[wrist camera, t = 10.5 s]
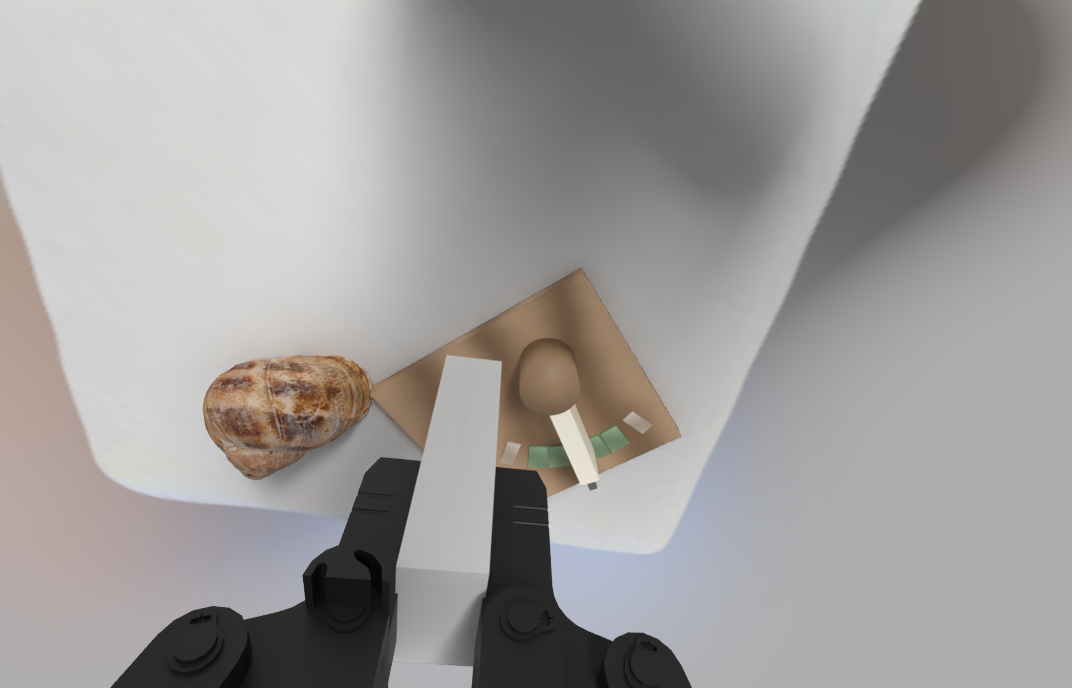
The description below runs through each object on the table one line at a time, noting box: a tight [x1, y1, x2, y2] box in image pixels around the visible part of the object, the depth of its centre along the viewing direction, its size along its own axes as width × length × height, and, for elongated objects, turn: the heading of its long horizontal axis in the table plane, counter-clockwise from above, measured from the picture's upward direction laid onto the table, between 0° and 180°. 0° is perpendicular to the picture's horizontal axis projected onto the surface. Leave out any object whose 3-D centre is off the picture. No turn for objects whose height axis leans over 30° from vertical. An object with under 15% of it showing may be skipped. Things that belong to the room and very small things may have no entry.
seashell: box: [203, 355, 372, 480], centre depth 41 cm, size 10×9×10 cm
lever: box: [520, 338, 599, 490], centre depth 42 cm, size 13×4×4 cm, turn 20°
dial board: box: [370, 268, 681, 497], centre depth 44 cm, size 20×18×1 cm
